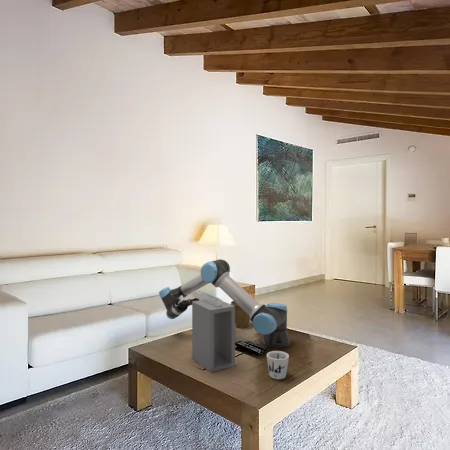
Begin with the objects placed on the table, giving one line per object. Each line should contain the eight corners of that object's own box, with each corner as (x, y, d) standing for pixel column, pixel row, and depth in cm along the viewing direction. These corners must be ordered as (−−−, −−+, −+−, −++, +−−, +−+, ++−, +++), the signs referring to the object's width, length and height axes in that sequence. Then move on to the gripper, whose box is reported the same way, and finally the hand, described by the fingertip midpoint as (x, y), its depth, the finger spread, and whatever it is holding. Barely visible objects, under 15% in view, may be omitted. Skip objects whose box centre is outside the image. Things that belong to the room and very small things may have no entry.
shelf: (192, 358, 197) (192, 301, 195) (215, 353, 204) (215, 298, 202) (210, 372, 180) (210, 310, 179) (234, 365, 188) (234, 306, 186)
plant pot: (257, 327, 247) (257, 303, 247) (238, 331, 240) (238, 306, 239) (244, 321, 260) (244, 298, 259) (226, 325, 252) (226, 301, 251)
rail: (192, 296, 206) (192, 290, 206) (198, 295, 208) (198, 290, 208) (216, 307, 184) (216, 301, 184) (222, 306, 186) (222, 300, 186)
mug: (264, 379, 173) (264, 357, 173) (270, 366, 188) (270, 346, 187) (287, 382, 170) (287, 360, 170) (291, 368, 184) (291, 348, 184)
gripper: (199, 310, 234) (214, 300, 218) (161, 316, 222) (174, 305, 205) (196, 298, 237) (211, 287, 221) (159, 303, 224) (171, 292, 208)
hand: (193, 296), depth 213 cm, fingers open, 13 cm apart
